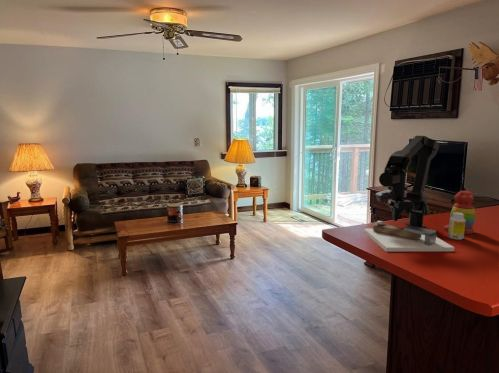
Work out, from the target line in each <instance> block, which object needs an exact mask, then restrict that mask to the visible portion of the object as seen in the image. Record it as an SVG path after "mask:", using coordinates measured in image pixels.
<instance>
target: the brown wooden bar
mask: <svg viewBox="0 0 499 373" xmlns="http://www.w3.org/2000/svg"><path fill="white" fill-rule="evenodd" d="M372 226H373V227H372V229H373V230H374V231H376V232H382V233H387V234H392V235H396V236H401V237H405V238H410V239H415V240H418V239H420V238H421V234H417V233H413V232H408V231H404V228H405V227H400V226H395V225H390V224H386V223H383V224H382V225H379V224H377V222H375V223H373V225H372Z"/></svg>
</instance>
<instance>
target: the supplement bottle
mask: <svg viewBox="0 0 499 373" xmlns="http://www.w3.org/2000/svg"><path fill="white" fill-rule="evenodd" d="M448 225H449V231H448V234H447V236H448V238H449V239H453V240H463V239H464V237H465V234H464V230H465V219H464V214H463V213H458V212H454V213H453V214H452V217H451V218H450V217H449V222H448Z"/></svg>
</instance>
